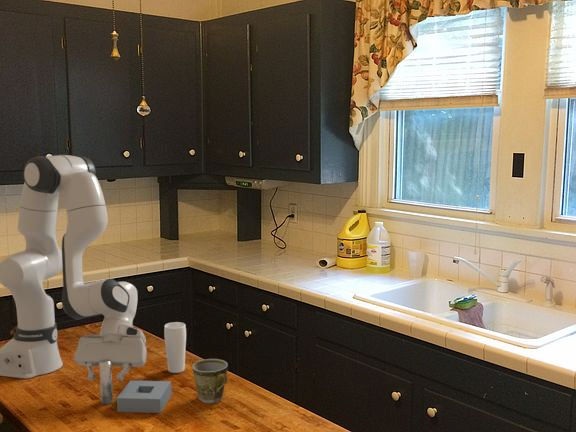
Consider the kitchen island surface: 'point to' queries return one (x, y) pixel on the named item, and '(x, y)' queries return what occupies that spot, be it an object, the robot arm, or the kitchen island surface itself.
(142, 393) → the socket block
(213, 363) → the ceramic cup
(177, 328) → the white tapered cylinder
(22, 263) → the robot arm
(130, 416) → the kitchen island surface
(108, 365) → the steel pin
